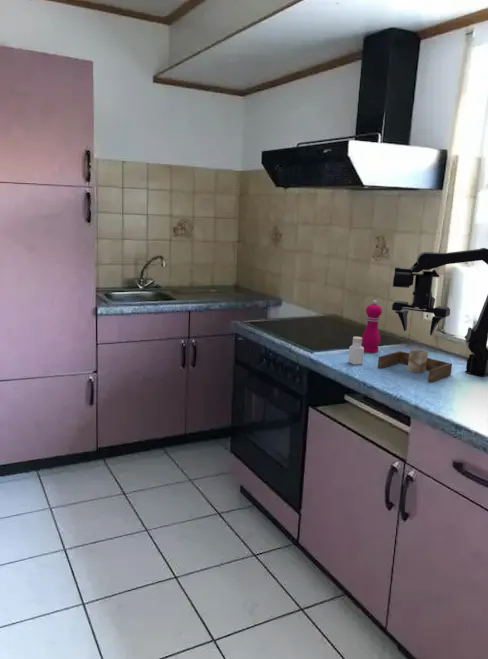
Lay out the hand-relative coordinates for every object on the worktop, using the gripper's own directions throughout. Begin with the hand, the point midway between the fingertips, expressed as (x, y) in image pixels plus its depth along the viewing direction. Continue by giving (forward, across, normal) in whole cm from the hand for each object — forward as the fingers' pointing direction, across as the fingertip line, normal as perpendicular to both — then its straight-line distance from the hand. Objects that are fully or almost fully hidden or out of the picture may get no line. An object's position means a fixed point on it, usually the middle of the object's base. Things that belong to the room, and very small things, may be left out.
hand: (418, 332), depth 195 cm
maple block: (+12, -2, +4) cm, 13 cm away
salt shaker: (+12, +18, +12) cm, 24 cm away
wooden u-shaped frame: (+12, -2, +6) cm, 14 cm away
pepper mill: (+12, +21, -9) cm, 26 cm away
